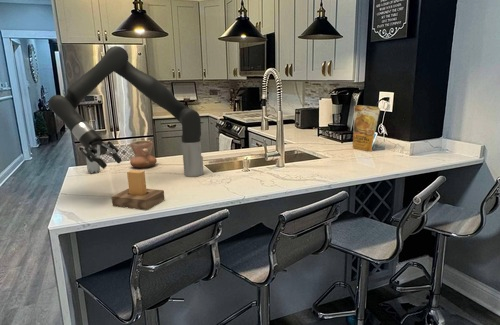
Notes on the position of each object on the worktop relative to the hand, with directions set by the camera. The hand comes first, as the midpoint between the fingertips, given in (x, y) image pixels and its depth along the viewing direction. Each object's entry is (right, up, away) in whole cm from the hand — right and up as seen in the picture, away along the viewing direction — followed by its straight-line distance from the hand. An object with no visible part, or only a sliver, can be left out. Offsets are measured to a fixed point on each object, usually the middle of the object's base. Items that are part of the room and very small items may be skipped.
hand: (113, 164), depth 141 cm
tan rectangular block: (+11, -15, 0) cm, 19 cm away
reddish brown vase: (-5, -2, +59) cm, 59 cm away
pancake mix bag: (+129, +9, +86) cm, 155 cm away
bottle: (-29, -5, +48) cm, 56 cm away
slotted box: (+11, -15, 0) cm, 19 cm away
